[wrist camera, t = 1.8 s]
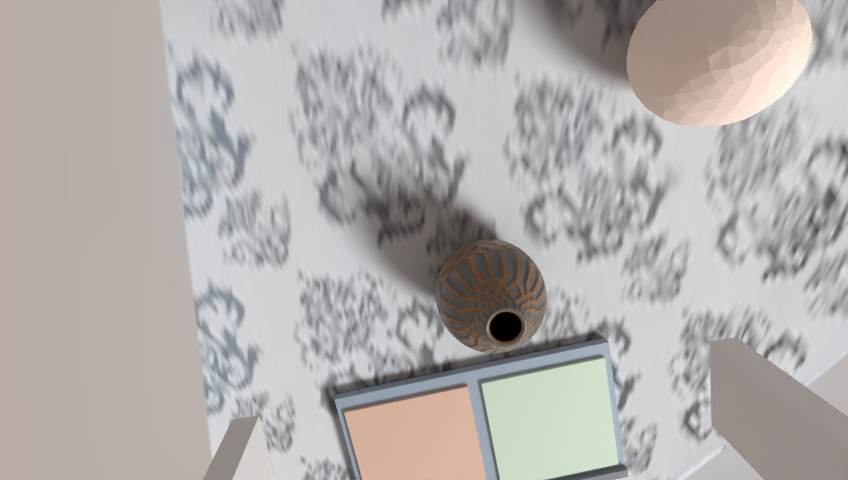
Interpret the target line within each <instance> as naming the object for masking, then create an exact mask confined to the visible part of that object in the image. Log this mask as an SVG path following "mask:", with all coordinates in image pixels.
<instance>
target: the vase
mask: <svg viewBox="0 0 848 480" xmlns="http://www.w3.org/2000/svg"><path fill="white" fill-rule="evenodd" d="M436 302H437V308H438V311H439V314H440V317H441V319H442V321H443V323H444V325H445V326H446V328H447V329H448V331H449V332H450V333H451V334H452V335H453V336H454V337H455V338H456V339H457V340H459V341H460V342H461V343H463V344H464V345H466V346H468V347H470V348H472V349H474V350H477V351H480V352H485V353H503V352H507V351H511V350H513V349H516V348H518V347H520V346H521V345H523V344H524V343H526V342H527V341H528V340H529V339H530V338H531V337H532V336H533V335H534V334H535V333H536V331H537V330H538V328H539V327H540V325H541V323H542V320H543V318H544V314H545V310H546V302H547V295H546V287H545V283H544V280H543V277H542V274H541V272H540V270H539V269H538V267H537V266H536V264H535V263H534V262H533V260H532V259H531V258H530V257H529V256H528V255H527V254H526V253H525V252H523V251H522V250H521V249H519V248H518V247H516V246H514V245H512V244H510V243H508V242H504V241H500V240H495V239H483V240H477V241H473V242H470V243H468V244H466V245H464V246H462V247H460V248H459V249H457V250H456V251H455V252H454V253H452V254H451V255H450V257H449V258H448V259H447V260H446V262H445V263H444V265H443V267H442V269H441V271H440V273H439V276H438V279H437V284H436Z"/></svg>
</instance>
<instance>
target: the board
mask: <svg viewBox="0 0 848 480" xmlns="http://www.w3.org/2000/svg"><path fill="white" fill-rule="evenodd" d="M335 404H336V407H337V411H338V414H339V418H340V422H341V425H342V429H343V433H344V436H345V440H346V444H347V447H348V451H349V455H350V458H351V462H352V465H353V469H354V473H355V476H356V480H614V479H619V478H624V477H628V472H627V469H626V467H625V466H624V461H623V453H622V445H621V437H620V429H619V421H618V413H617V405H616V397H615V389H614V381H613V373H612V365H611V357H610V349H609V342H608V341H607V340H606V339H605V338H600V339H595V340H590V341H585V342H581V343H576V344H571V345H566V346H562V347H557V348H552V349H547V350H543V351H538V352H533V353H528V354H524V355H519V356H514V357H509V358H504V359H500V360H495V361H490V362H485V363H481V364H476V365H471V366H466V367H462V368H457V369H452V370H447V371H443V372H438V373H433V374H428V375H424V376H419V377H414V378H409V379H405V380H400V381H395V382H390V383H385V384H381V385H376V386H371V387H366V388H362V389H357V390H352V391H347V392H343V393H338V394H335Z"/></svg>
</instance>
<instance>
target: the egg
mask: <svg viewBox="0 0 848 480" xmlns="http://www.w3.org/2000/svg"><path fill="white" fill-rule="evenodd" d="M811 41H812V30H811V24H810V19H809V17H808V15H807V13H806V11H805V9H804V7H803V6H802V5H801V3H800V2H799V1H798V0H657V1H656V2H655V3H654V4H653V5H652V6H651V7H650V8H649V9H648V10H647V11H646V12H645V13H644V15H643V16H642V17H641V18H640V20H639V21H638V23H637V25H636V27H635V30H634V32H633V34H632V36H631V38H630V42H629V47H628V52H627V74H628V77H629V81H630V84H631V87H632V89H633V91H634V93H635V95H636V96H637V98H638V99H639V100H640V101H641V102H642V103H643V105H644V106H645V107H646V108H647V109H648V110H650V111H651V112H653V113H654V114H656V115H658V116H659V117H661V118H662V119H664V120H667V121H670V122H673V123H676V124H679V125H685V126H691V127H713V126H721V125H726V124H730V123H734V122H737V121H740V120H744V119H747V118H748V117H750V116H752V115H754V114H756V113H758V112H759V111H761V110H763V109H764V108H766V107H767V106H769V105H770V104H772V103H773V102H774V101H776V100H777V99H779V98H780V97H781V96H782V95H783V94H784V93H785V92H786V91H787V90H788V89H789V88H790V87H791V86H792V85H793V83H794V82H795V81H796V80H797V78H798V77H799V75H800V74H801V72H802V70H803V69H804V67H805V66H806V63H807V59H808V56H809V52H810V47H811Z"/></svg>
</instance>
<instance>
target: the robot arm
mask: <svg viewBox="0 0 848 480" xmlns="http://www.w3.org/2000/svg"><path fill="white" fill-rule="evenodd" d="M710 366H711V417H712V426H713V427H714V428H715V429H716V430H717V431H718V432H719V433H720V434H721V435H722V436H723V437H724V438H725V439H726V440H727V441H728V442H729V443H730V444H731V445H732V446H733V448H734V449H735V450H736V451H737V452H738V453H739V454H740V455H741V456H742V457H743V458H744V459H745V460H746V461H747V462H748V463H749V464H750V465H751V466H752V467H753V468H754V469H755V470H756V471H757V472H758V473H759V474H760V476H761V477H762V478H763V479H764V480H848V417H847V416H846V415H844V414H843V413H842V412H840V411H839V410H838V409H836V408H835V407H833V406H832V405H831V404H829V403H828V402H826V401H825V400H823V399H822V398H821V397H819V396H818V395H816V394H815V393H813V392H812V391H811V390H809V389H808V388H807V387H805V386H804V385H802V384H801V383H799V382H798V381H797V380H795V379H794V378H792V377H791V376H790V375H788V374H787V373H785V372H784V371H783V370H781V369H780V368H778V367H777V366H776V365H774V364H773V363H771V362H770V361H768V360H767V359H766V358H764V357H763V356H761V355H760V354H759V353H757V352H756V351H754V350H753V349H752V348H750V347H749V346H747V345H746V344H744V343H743V342H742V341H740V340H739V339H737V338H730V339H724V340H718V341H712V342H710ZM203 480H275V476H274V472H273V468H272V464H271V460H270V456H269V452H268V449H267V445H266V441H265V437H264V433H263V429H262V425H261V421H260V418H259V416H254V417H248V418H242V419H235V420H232V422H231V424H230V426H229V428H228V430H227V432H226V434H225V436H224V438H223V440H222V442H221V444H220V446H219V448H218V450H217V452H216V454H215V456H214V458H213V460H212V462H211V464H210V467H209V469H208V471H207V473H206V475H205V477H204V479H203Z"/></svg>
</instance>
